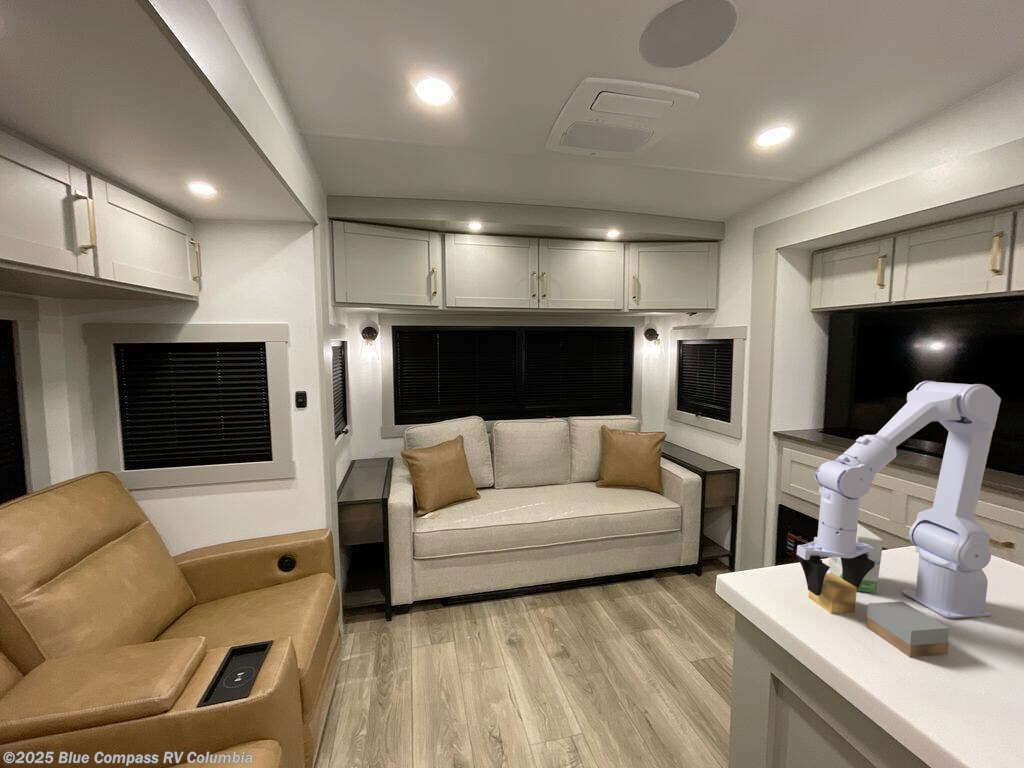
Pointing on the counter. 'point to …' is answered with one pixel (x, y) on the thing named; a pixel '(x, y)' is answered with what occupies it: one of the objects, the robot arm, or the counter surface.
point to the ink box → (872, 540)
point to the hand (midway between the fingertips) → (831, 591)
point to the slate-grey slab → (908, 623)
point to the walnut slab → (906, 648)
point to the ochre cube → (836, 595)
